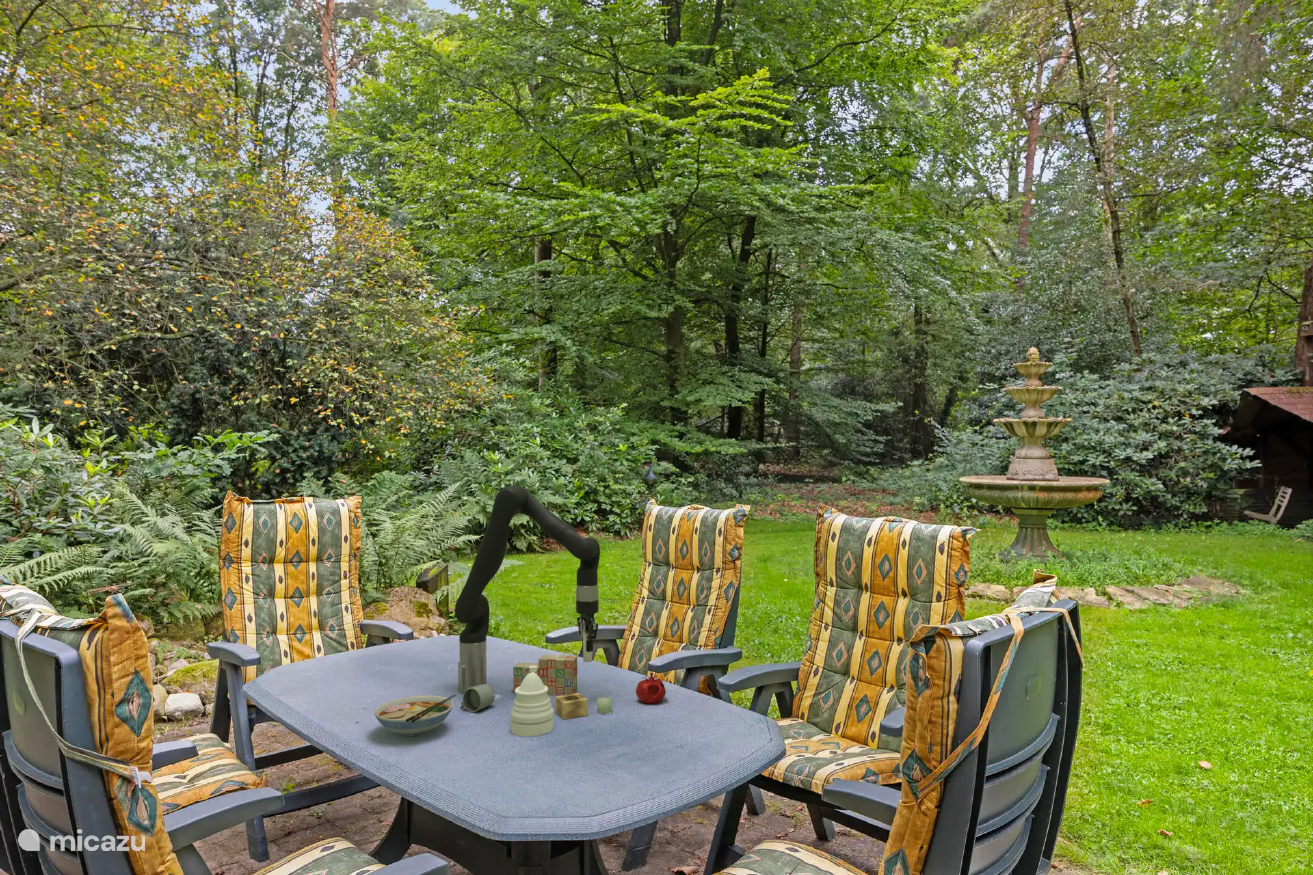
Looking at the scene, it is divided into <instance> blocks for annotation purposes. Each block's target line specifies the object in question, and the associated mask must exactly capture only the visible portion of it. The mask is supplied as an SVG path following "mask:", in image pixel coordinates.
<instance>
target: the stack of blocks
mask: <svg viewBox="0 0 1313 875" xmlns="http://www.w3.org/2000/svg"><path fill="white" fill-rule="evenodd" d="M529 666H537V671H536V672H535V674H537V675H538V676H539V677H540V679H541V680H542V682H543V684H544V685H545V686H547V687H548V692H547V694H548V696H561V695H568V694H574V693H575V692H576V693H577V692H578V656H577V655H569V654H542V655H541V657H539V658H538V662H521V661H520V662H518V663H516V664H515V665H514V666H513V668H512V669H513V672H512V675H513V694H516V693H515V689H516V688H517V687H519V686H520V685H521V683H522V681H523V680H524V678H525V677H526V676H527V675H528V674H529V673H531V672H530V670H529Z"/></svg>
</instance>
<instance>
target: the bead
mask: <svg viewBox="0 0 1313 875" xmlns="http://www.w3.org/2000/svg"><path fill="white" fill-rule="evenodd" d="M596 705H597V710H596V711H597V714H599V713H600V714H599V715H607V714H606V713H609V712H611V713H612V698H610V697H608V696H607V697H606V696H603V697H598V698H597V704H596ZM609 714H610V713H609Z"/></svg>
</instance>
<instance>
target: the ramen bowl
mask: <svg viewBox="0 0 1313 875" xmlns="http://www.w3.org/2000/svg"><path fill="white" fill-rule="evenodd" d="M456 696H457V695H456V694H453V695H451V696H449V697H445V696H439V695H426V694H425V695H424V694H423V695H411V696H405V697H400V698H396V699H391V700H389V701H385V702H383V703H380V704H379V705H378V706H377V707H375V708H374V713H373V715H374V716H375V718H376V720H378V723H380V725H381V726H382V727H383V728H385V729H387V730H388V731H390V732H392V733H395V734H400V735H402V736H406V735H415V736H419V735H418V734H420V735H423V734H425V733H427V732H428V731H431V730H434V729H435V728H437V727H439V726H440V725H441V724H442V723H443V722H444V721H445V720H446V719H447V718H448V716H449V715H450V713H451V712H452V709H453V707H454V701H453V700H452V699H453V698H455V697H456ZM422 733H423V734H422Z"/></svg>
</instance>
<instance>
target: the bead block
mask: <svg viewBox="0 0 1313 875" xmlns="http://www.w3.org/2000/svg"><path fill="white" fill-rule="evenodd" d="M554 698H555V699H554V700H555V701H554V702H555V704H554V705H555V707H554V708H555V710H554V711H555V713H556V714H557V715H558V716H559V717H560V716H561V717H560V718H561V719H562V720H563V719H565V720H570V719H571V720H572V719H576V718H575V717H577V718H581V717H580V716H583V717H588V716H589V699H588V698H587V697H585V696H583V695H582V694H581V693H580V692H576V693H574V694H568V695H554ZM587 715H588V716H587Z"/></svg>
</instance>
